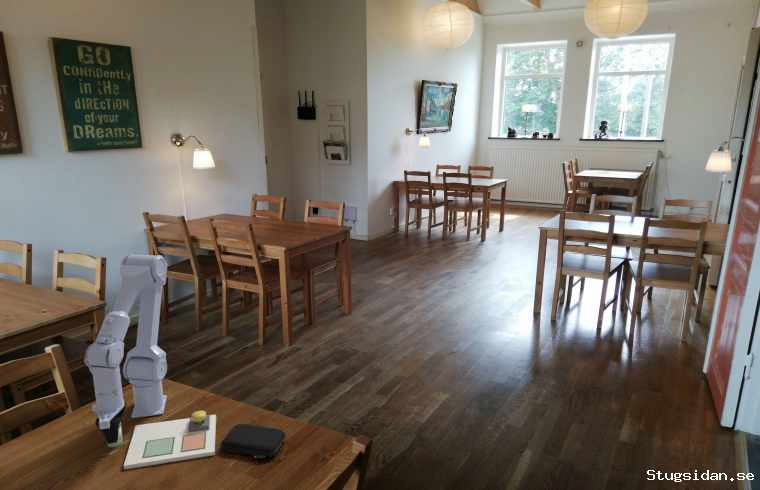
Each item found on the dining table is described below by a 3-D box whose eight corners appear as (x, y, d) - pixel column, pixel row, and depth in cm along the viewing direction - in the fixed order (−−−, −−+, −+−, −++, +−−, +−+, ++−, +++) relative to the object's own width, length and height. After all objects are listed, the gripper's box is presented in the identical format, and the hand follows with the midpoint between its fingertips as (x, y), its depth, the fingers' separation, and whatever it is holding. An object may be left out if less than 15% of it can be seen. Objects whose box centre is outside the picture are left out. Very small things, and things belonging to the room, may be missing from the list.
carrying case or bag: (215, 456, 121) (272, 465, 118) (214, 445, 120) (271, 454, 117) (235, 430, 131) (288, 437, 128) (235, 419, 130) (288, 427, 127)
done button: (192, 418, 131) (192, 411, 130) (206, 416, 132) (206, 409, 132) (191, 426, 128) (191, 419, 127) (206, 424, 129) (205, 417, 128)
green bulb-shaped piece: (109, 439, 125) (106, 419, 123) (124, 437, 126) (121, 417, 124) (105, 448, 122) (103, 427, 120) (121, 446, 123) (118, 425, 121)
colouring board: (136, 428, 130) (135, 421, 129) (216, 417, 135) (215, 410, 135) (124, 469, 115) (123, 461, 114) (214, 455, 120) (214, 447, 120)
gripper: (97, 376, 126) (103, 422, 129) (81, 407, 112) (88, 458, 116) (127, 372, 128) (133, 419, 131) (116, 403, 114) (122, 453, 118)
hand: (114, 437), depth 123 cm, fingers closed on green bulb-shaped piece, 3 cm apart
